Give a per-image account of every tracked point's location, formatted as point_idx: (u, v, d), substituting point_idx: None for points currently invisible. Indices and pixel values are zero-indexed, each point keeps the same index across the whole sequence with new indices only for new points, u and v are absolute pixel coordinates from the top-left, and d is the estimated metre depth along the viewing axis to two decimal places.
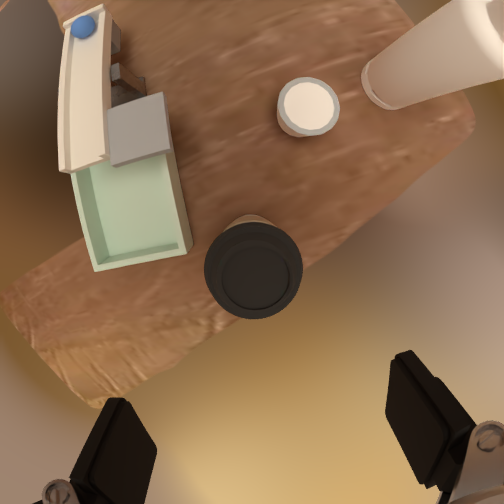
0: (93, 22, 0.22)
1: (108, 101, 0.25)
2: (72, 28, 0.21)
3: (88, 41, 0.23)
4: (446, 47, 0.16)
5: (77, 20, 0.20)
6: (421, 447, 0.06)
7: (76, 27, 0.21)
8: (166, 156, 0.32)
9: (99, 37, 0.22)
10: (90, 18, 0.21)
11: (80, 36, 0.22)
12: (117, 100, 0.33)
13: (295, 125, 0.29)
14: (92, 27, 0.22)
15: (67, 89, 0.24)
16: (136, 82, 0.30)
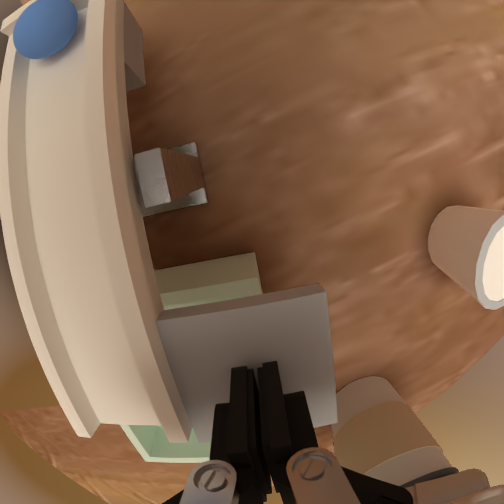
0: (73, 13, 0.07)
1: (151, 281, 0.10)
2: (15, 36, 0.06)
3: (62, 66, 0.09)
4: None
5: (27, 12, 0.05)
6: None
7: (24, 32, 0.06)
8: None
9: (91, 60, 0.08)
10: (64, 2, 0.06)
11: (38, 56, 0.07)
12: None
13: (486, 298, 0.15)
14: (70, 27, 0.07)
15: (24, 225, 0.09)
16: (191, 171, 0.15)
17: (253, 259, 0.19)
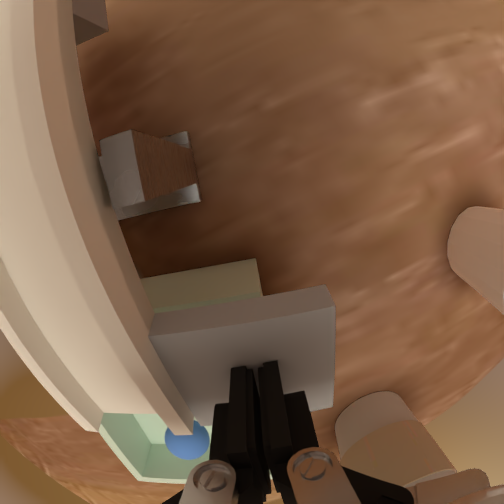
0: (207, 438, 0.16)
1: (137, 292, 0.09)
2: None
3: None
4: None
5: None
6: None
7: None
8: None
9: (19, 31, 0.04)
10: (207, 432, 0.17)
11: None
12: None
13: None
14: (202, 437, 0.16)
15: None
16: (180, 164, 0.12)
17: (254, 267, 0.16)
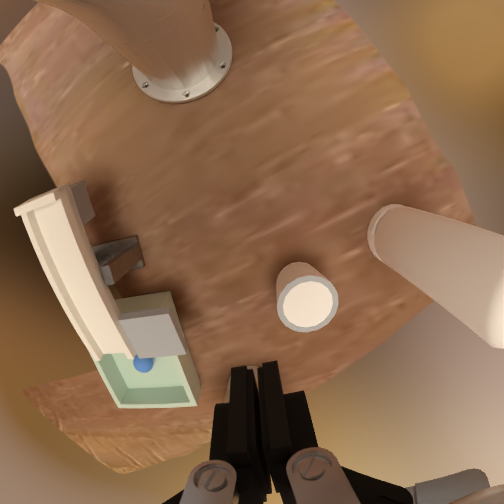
0: (152, 362, 0.38)
1: (115, 307, 0.29)
2: (135, 355, 0.38)
3: (57, 231, 0.24)
4: (457, 310, 0.19)
5: None
6: None
7: None
8: None
9: (73, 244, 0.24)
10: None
11: (137, 364, 0.37)
12: None
13: (293, 325, 0.32)
14: (149, 364, 0.37)
15: (65, 293, 0.27)
16: (130, 258, 0.33)
17: (166, 295, 0.36)
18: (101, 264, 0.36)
